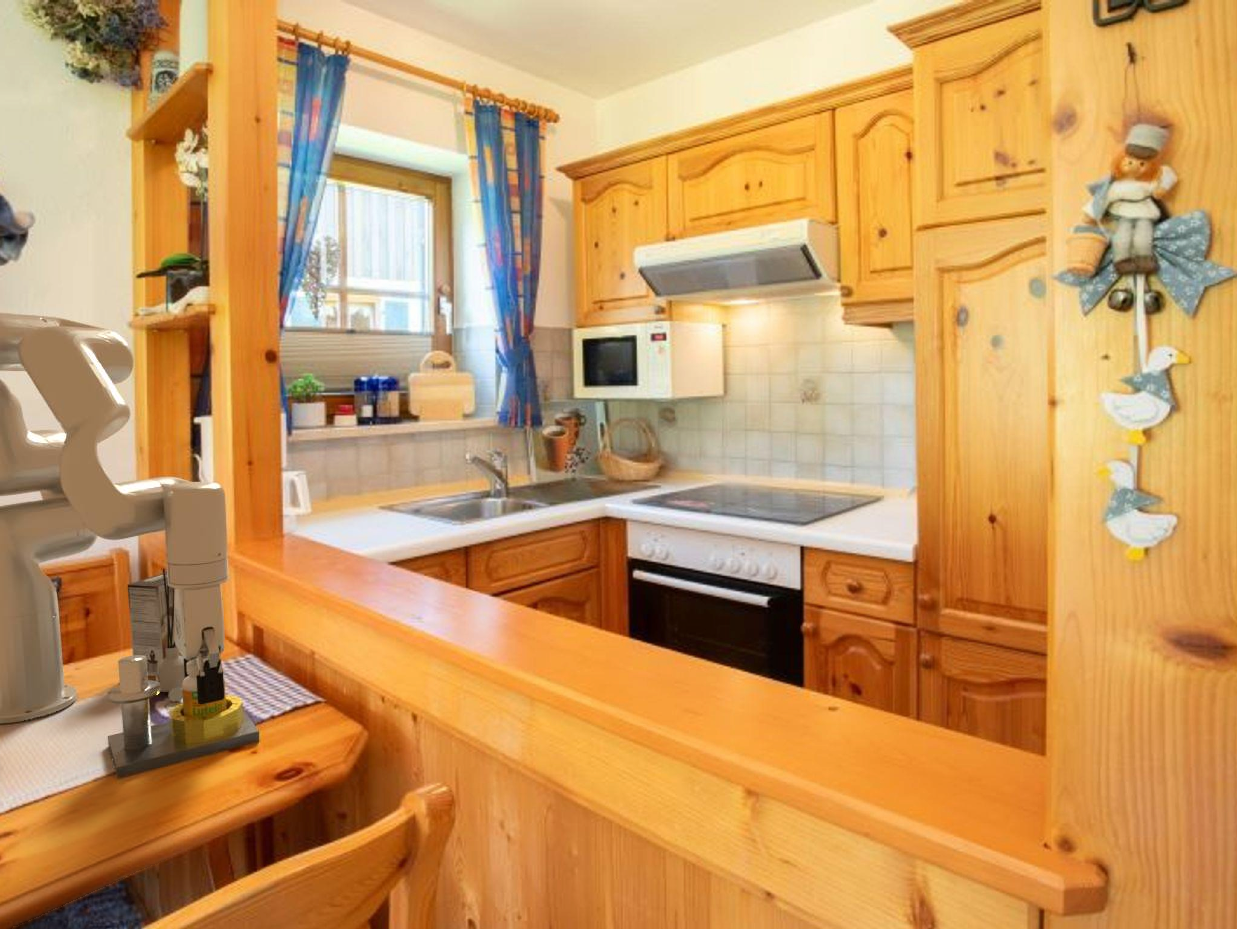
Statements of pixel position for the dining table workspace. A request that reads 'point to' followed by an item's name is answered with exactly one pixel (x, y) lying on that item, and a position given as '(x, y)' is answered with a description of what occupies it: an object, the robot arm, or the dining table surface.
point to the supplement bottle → (190, 695)
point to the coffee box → (150, 619)
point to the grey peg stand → (168, 726)
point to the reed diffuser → (171, 659)
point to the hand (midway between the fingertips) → (204, 689)
